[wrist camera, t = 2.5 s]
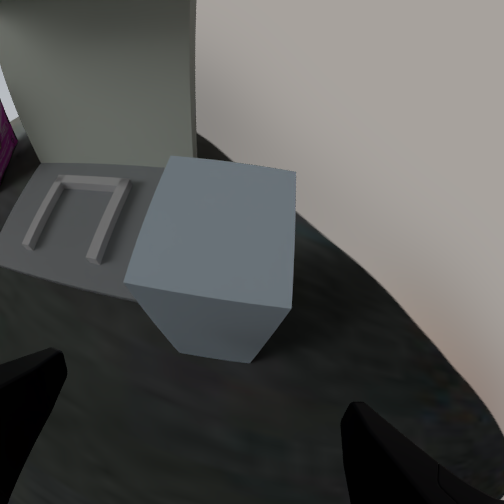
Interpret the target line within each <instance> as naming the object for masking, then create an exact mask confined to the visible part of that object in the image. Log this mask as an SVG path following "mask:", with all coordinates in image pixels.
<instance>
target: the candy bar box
mask: <svg viewBox="0 0 504 504" xmlns="http://www.w3.org/2000/svg"><path fill="white" fill-rule="evenodd" d="M17 142H18V140H17V138H16V135H15V133H14V131H13V129H12V126H11V124H10V122H9V120H8V117H7V115H6V113H5V110H4V107H3V105H2V102H1V100H0V184H1V181H2V179H3V176H4V173H5V171H6V168H7V165H8V163H9V160H10V158H11V156H12V153H13V151H14V149H15V147H16V144H17Z"/></svg>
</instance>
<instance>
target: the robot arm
mask: <svg viewBox="0 0 504 504" xmlns="http://www.w3.org/2000/svg"><path fill="white" fill-rule="evenodd" d="M66 377H67V367H66V363H65V359H64V355H63V353H62V351H60V350H58V349H55V348H52V347H51V348H48V349H45V350H42V351H39V352H36V353H33V354H30V355H27V356H24V357H22V358H19V359H16V360H13V361H10V362H7V363H4V364H1V365H0V504H8V502H9V498H10V496H11V494H12V491H13V489H14V487H15V484H16V482H17V480H18V477H19V475H20V473H21V471H22V468H23V466H24V464H25V462H26V460H27V458H28V456H29V454H30V452H31V450H32V448H33V446H34V444H35V442H36V440H37V438H38V436H39V434H40V432H41V430H42V428H43V426H44V425H45V423H46V421H47V419H48V417H49V415H50V413H51V411H52V409H53V407H54V405H55V402H56V400H57V398H58V395H59V393H60V391H61V388H62V386H63V384H64V382H65V379H66ZM341 437H342V450H343V463H344V470H345V475H346V481H347V486H348V491H349V497H350V502H351V504H504V500H499V499H496V498H494V497H492V496H490V495H488V494H486V493H484V492H482V491H481V490H479V489H477V488H475V487H473V486H472V485H470V484H468V483H467V482H465V481H463V480H462V479H460V478H459V477H457V476H456V475H454V474H453V473H451V472H450V471H449V470H447V469H446V468H445V467H443V466H442V465H441V464H438V462H437V461H436V460H434V459H433V458H432V457H430V456H429V455H428V454H427V453H425V452H424V451H423V450H422V449H420V448H419V447H418V446H417V445H415V444H414V443H413V442H412V441H410V440H409V439H408V438H407V437H405V436H404V435H403V434H402V433H400V432H399V431H398V430H397V429H396V428H394V427H393V426H392V425H391V424H390V423H388V422H387V421H386V420H385V419H384V418H382V417H381V416H380V415H379V414H378V413H376V412H375V411H374V410H373V409H372V408H371V407H369V406H368V405H367V404H366V403H364V402H352V403H350V404H349V406H348V408H347V410H346V412H345V414H344V416H343V418H342V420H341Z"/></svg>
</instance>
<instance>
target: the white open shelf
mask: <svg viewBox="0 0 504 504" xmlns="http://www.w3.org/2000/svg"><path fill="white" fill-rule="evenodd" d="M195 25H196V0H0V65H1V68H2V72H3V75H4V78H5V81H6V84H7V86H8V89H9V92H10V95H11V97H12V100H13V103H14V105H15V108H16V110H17V112H18V115H19V117H20V120H21V122H22V124H23V127H24V129H25V131H26V133H27V135H28V138H29V140H30V142H31V144H32V146H33V148H34V150H35V152H36V154H37V156H38V158H39V160H40V162H41V164H40V165H39V167H38V168H37V170H36V171H35V173H34V174H33V176H32V177H31V179H30V180H29V182H28V184H27V185H26V187H25V188H24V190H23V192H22V193H21V195H20V197H19V199H18V200H17V202H16V204H15V206H14V208H13V209H12V211H11V213H10V215H9V217H8V219H7V221H6V223H5V225H4V227H3V229H2V231H1V233H0V267H3V268H6V269H10V270H13V271H16V272H19V273H23V274H26V275H29V276H33V277H36V278H40V279H43V280H47V281H50V282H54V283H58V284H61V285H65V286H69V287H73V288H77V289H81V290H85V291H89V292H93V293H97V294H102V295H106V296H111V297H115V298H120V299H124V300H129V301H134V302H137V300H136V299H135V298H134V296H133V295H132V294H131V292H130V291H129V290H128V288H127V287H126V286H125V284H124V283H123V281H124V278H125V275H126V272H127V268H128V265H129V262H130V259H131V256H132V253H133V250H134V247H135V244H136V241H137V238H138V235H139V233H140V230H141V227H142V224H143V222H144V219H145V216H146V214H147V211H148V208H149V206H150V203H151V201H152V198H153V196H154V193H155V191H156V188H157V186H158V183H159V181H160V179H161V176H162V174H163V172H164V169H165V167H166V165H167V162H168V160H169V158H170V156H181V157H192V158H197V137H196V103H195V27H196V26H195Z"/></svg>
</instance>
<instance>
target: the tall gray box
mask: <svg viewBox="0 0 504 504" xmlns="http://www.w3.org/2000/svg"><path fill="white" fill-rule="evenodd" d="M295 204H296V172H294V171H288V170H282V169H276V168H270V167H263V166H257V165H250V164H243V163H236V162H228V161H220V160H211V159H202V158H192V157H181V156H170V158H169V160H168V162H167V165H166V167H165V169H164V172H163V174H162V176H161V179H160V181H159V183H158V186H157V188H156V191H155V193H154V196H153V198H152V201H151V203H150V206H149V208H148V211H147V214H146V216H145V219H144V222H143V224H142V227H141V230H140V233H139V235H138V238H137V241H136V244H135V247H134V250H133V253H132V256H131V259H130V262H129V265H128V268H127V272H126V275H125V278H124V281H123V283H124V284H125V286H126V287H127V288H128V290H129V291H130V292H131V294H132V295H133V296H134V298H135V299H136V300H137V302H138V303H139V304H140V306H141V307H142V308H143V309H144V311H145V312H146V313H147V315H148V316H149V317H150V318H151V320H152V321H153V322H154V323H155V324H156V326H157V327H158V328H159V329H160V331H161V332H162V333H163V334H164V335H165V337H166V338H167V339H168V340H169V341H170V342H171V344H172V345H173V346H174V347H175V348H176V349H177V351H178V352H179V353H185V354H190V355H196V356H202V357H208V358H214V359H221V360H228V361H235V362H243V363H251V361H252V360H253V359H254V358H255V356H256V355H257V354H258V352H259V351H260V350H261V349H262V347H263V346H264V345H265V343H266V342H267V341H268V340H269V338H270V337H271V336H272V334H273V333H274V332H275V330H276V329H277V328H278V326H279V325H280V324H281V322H282V321H283V320H284V318H285V317H286V315H287V314H288V313H289V311H290V310H291V308H292V290H293V269H294V244H295V207H296V205H295Z"/></svg>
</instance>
